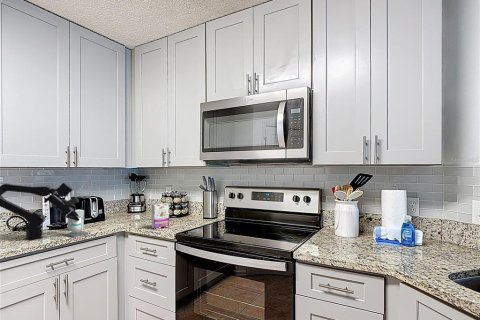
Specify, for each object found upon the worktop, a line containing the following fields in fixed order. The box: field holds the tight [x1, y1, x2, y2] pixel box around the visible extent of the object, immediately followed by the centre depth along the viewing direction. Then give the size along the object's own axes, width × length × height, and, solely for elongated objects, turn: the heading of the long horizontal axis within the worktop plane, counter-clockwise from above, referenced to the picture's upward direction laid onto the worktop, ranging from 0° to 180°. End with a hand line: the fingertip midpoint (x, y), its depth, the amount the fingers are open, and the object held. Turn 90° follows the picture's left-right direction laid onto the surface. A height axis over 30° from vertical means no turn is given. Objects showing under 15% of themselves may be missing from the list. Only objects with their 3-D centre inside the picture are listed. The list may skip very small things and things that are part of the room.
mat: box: [64, 230, 89, 238], centre depth 167 cm, size 9×9×1 cm
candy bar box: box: [151, 203, 170, 229], centre depth 189 cm, size 11×5×16 cm, turn 129°
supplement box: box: [67, 209, 85, 231], centre depth 184 cm, size 7×7×13 cm
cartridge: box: [71, 216, 82, 233], centre depth 167 cm, size 5×5×10 cm
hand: (79, 219), depth 168 cm, fingers open, 5 cm apart
